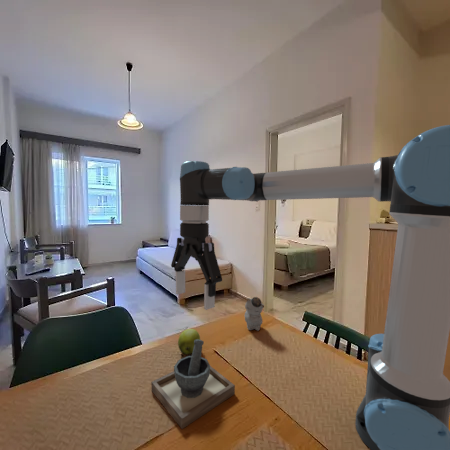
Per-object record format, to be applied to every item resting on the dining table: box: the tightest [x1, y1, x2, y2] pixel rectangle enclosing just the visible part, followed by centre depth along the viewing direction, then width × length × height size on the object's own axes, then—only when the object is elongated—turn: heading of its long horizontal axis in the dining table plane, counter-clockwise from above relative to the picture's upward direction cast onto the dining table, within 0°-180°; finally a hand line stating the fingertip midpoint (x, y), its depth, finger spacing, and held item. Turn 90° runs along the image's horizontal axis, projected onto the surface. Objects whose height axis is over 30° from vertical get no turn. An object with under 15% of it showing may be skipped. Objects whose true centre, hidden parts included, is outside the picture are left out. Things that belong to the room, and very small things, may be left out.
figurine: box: [244, 296, 265, 332], centre depth 106 cm, size 9×10×15 cm
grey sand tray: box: [150, 365, 236, 430], centre depth 71 cm, size 16×17×3 cm
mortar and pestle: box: [173, 339, 211, 398], centre depth 70 cm, size 11×9×12 cm
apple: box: [177, 328, 201, 355], centre depth 90 cm, size 8×9×8 cm
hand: (193, 300), depth 69 cm, fingers open, 13 cm apart
